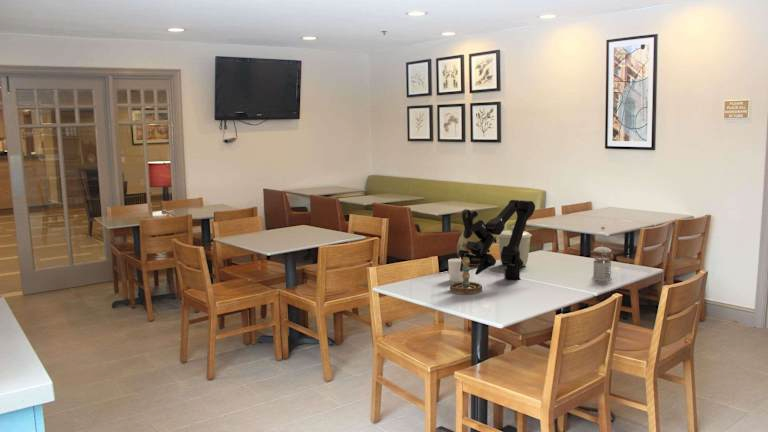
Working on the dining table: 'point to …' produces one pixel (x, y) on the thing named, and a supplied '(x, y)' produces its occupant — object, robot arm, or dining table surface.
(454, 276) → the white cup
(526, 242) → the canister
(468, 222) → the ceramic jug
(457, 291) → the groove tray
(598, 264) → the french press
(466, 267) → the post
